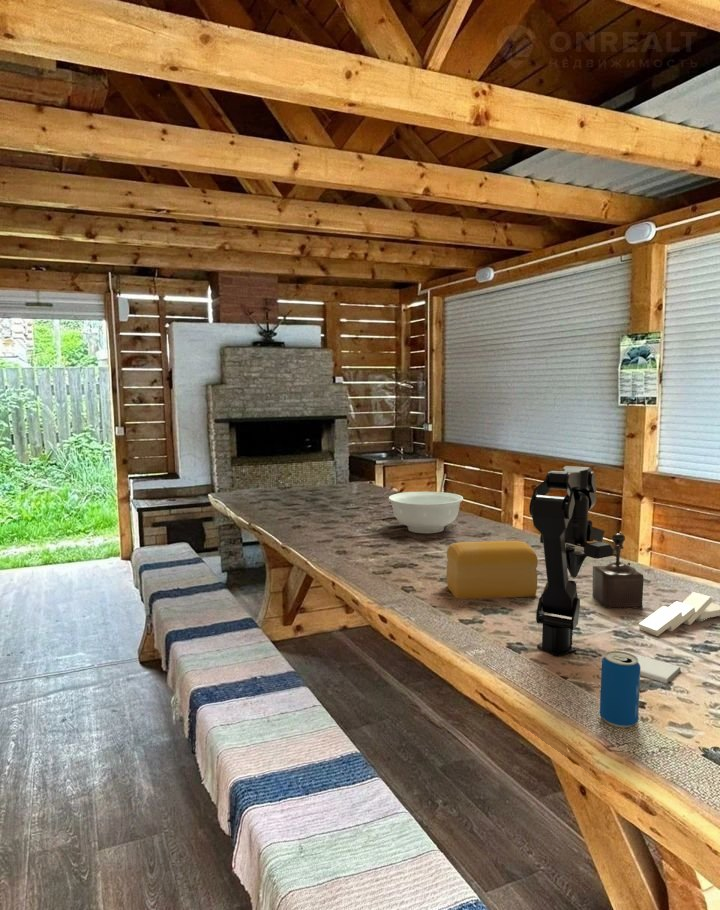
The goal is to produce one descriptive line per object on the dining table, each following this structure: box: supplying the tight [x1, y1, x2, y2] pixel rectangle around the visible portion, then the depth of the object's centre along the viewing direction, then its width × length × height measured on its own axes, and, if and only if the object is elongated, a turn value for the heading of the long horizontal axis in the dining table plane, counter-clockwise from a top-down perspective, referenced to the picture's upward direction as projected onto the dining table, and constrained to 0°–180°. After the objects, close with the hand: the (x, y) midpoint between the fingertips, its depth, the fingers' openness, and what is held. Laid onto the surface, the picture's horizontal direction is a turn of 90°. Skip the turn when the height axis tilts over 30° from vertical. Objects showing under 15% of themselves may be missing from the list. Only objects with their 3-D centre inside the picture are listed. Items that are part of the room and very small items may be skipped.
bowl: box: [388, 491, 464, 534], centre depth 268 cm, size 32×32×15 cm
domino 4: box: [697, 602, 720, 619], centre depth 164 cm, size 2×5×10 cm
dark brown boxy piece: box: [591, 532, 644, 609], centre depth 177 cm, size 16×11×18 cm
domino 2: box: [666, 600, 695, 632], centre depth 158 cm, size 2×5×10 cm
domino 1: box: [638, 605, 682, 637], centre depth 155 cm, size 2×5×10 cm
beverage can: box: [599, 650, 641, 729], centre depth 112 cm, size 6×6×12 cm
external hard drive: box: [621, 650, 682, 684], centre depth 134 cm, size 2×8×12 cm
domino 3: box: [682, 591, 713, 626], centre depth 161 cm, size 2×5×10 cm
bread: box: [445, 540, 539, 600], centre depth 185 cm, size 24×13×15 cm, turn 95°
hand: (573, 576), depth 156 cm, fingers closed
